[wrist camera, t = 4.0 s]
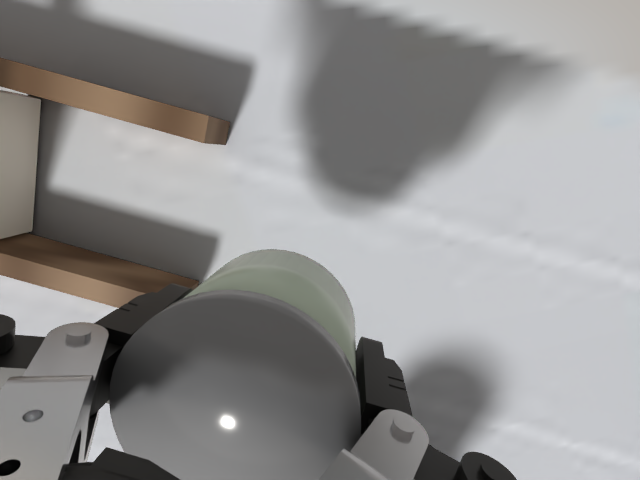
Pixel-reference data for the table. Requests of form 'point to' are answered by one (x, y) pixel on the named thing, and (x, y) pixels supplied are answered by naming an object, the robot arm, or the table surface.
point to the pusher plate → (18, 161)
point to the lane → (73, 262)
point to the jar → (243, 375)
